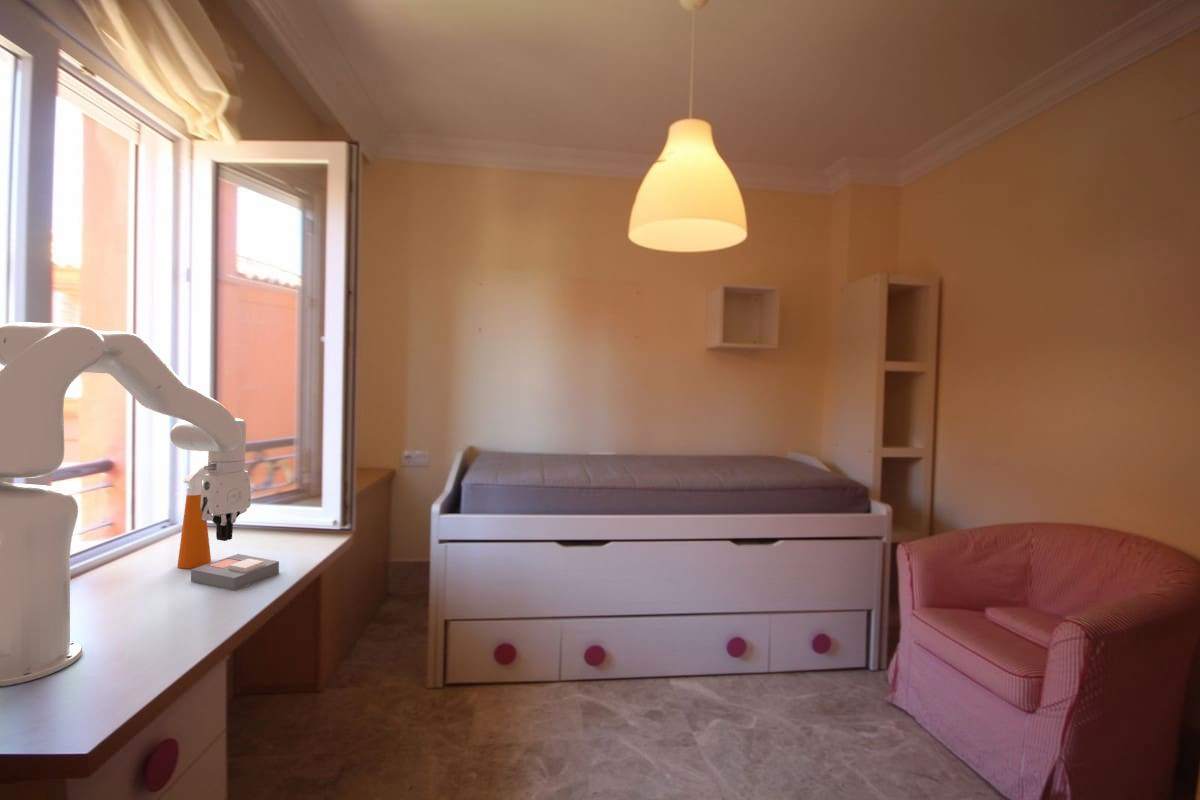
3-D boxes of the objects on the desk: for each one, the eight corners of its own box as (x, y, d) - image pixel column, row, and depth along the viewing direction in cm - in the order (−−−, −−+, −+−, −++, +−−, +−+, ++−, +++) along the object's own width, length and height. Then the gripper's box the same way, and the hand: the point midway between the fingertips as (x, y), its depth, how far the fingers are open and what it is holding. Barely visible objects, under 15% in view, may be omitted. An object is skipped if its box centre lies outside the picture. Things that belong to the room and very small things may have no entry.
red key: (223, 577, 127) (223, 568, 127) (208, 574, 129) (208, 565, 129) (242, 570, 132) (242, 561, 132) (227, 567, 134) (228, 558, 133)
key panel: (234, 590, 122) (234, 578, 122) (190, 581, 126) (191, 569, 126) (278, 572, 133) (278, 561, 133) (237, 564, 137) (237, 553, 137)
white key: (245, 577, 125) (245, 568, 125) (229, 574, 127) (229, 565, 127) (263, 570, 130) (263, 561, 130) (248, 567, 132) (248, 558, 131)
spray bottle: (227, 555, 144) (228, 462, 143) (198, 569, 133) (199, 469, 132) (201, 554, 144) (202, 461, 143) (170, 568, 133) (171, 468, 132)
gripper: (207, 472, 121) (205, 549, 121) (265, 464, 135) (262, 533, 136) (184, 470, 123) (182, 545, 123) (243, 462, 137) (241, 530, 138)
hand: (224, 539), depth 130 cm, fingers closed
